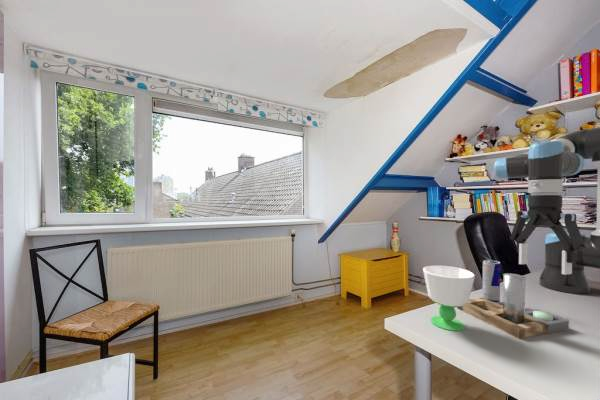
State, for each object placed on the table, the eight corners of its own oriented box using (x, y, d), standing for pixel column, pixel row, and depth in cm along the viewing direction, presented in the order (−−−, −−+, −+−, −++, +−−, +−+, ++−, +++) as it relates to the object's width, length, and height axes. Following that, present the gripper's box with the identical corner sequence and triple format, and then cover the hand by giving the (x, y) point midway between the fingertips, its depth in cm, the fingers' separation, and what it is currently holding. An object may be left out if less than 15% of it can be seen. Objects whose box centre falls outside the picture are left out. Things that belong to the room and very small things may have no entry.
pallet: (482, 304, 94) (482, 297, 94) (548, 333, 74) (548, 324, 74) (457, 308, 91) (457, 300, 91) (519, 338, 71) (519, 329, 71)
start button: (539, 317, 82) (539, 310, 82) (556, 324, 78) (556, 316, 78) (529, 319, 81) (529, 311, 81) (545, 326, 76) (545, 318, 76)
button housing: (537, 317, 84) (537, 309, 84) (568, 329, 76) (568, 320, 76) (518, 320, 82) (518, 312, 82) (548, 333, 74) (548, 324, 74)
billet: (511, 321, 81) (511, 272, 81) (528, 329, 76) (529, 277, 76) (498, 323, 80) (499, 274, 80) (515, 331, 75) (516, 279, 75)
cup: (442, 337, 72) (442, 279, 72) (413, 314, 86) (413, 266, 85) (486, 333, 74) (487, 277, 74) (451, 312, 88) (451, 264, 88)
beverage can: (502, 305, 93) (503, 263, 93) (486, 304, 94) (487, 262, 94) (495, 300, 98) (495, 259, 98) (479, 298, 99) (480, 259, 99)
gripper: (496, 194, 89) (496, 260, 89) (586, 194, 66) (585, 281, 67) (513, 194, 91) (513, 258, 91) (606, 194, 68) (604, 279, 69)
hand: (543, 268), depth 79 cm, fingers open, 10 cm apart
